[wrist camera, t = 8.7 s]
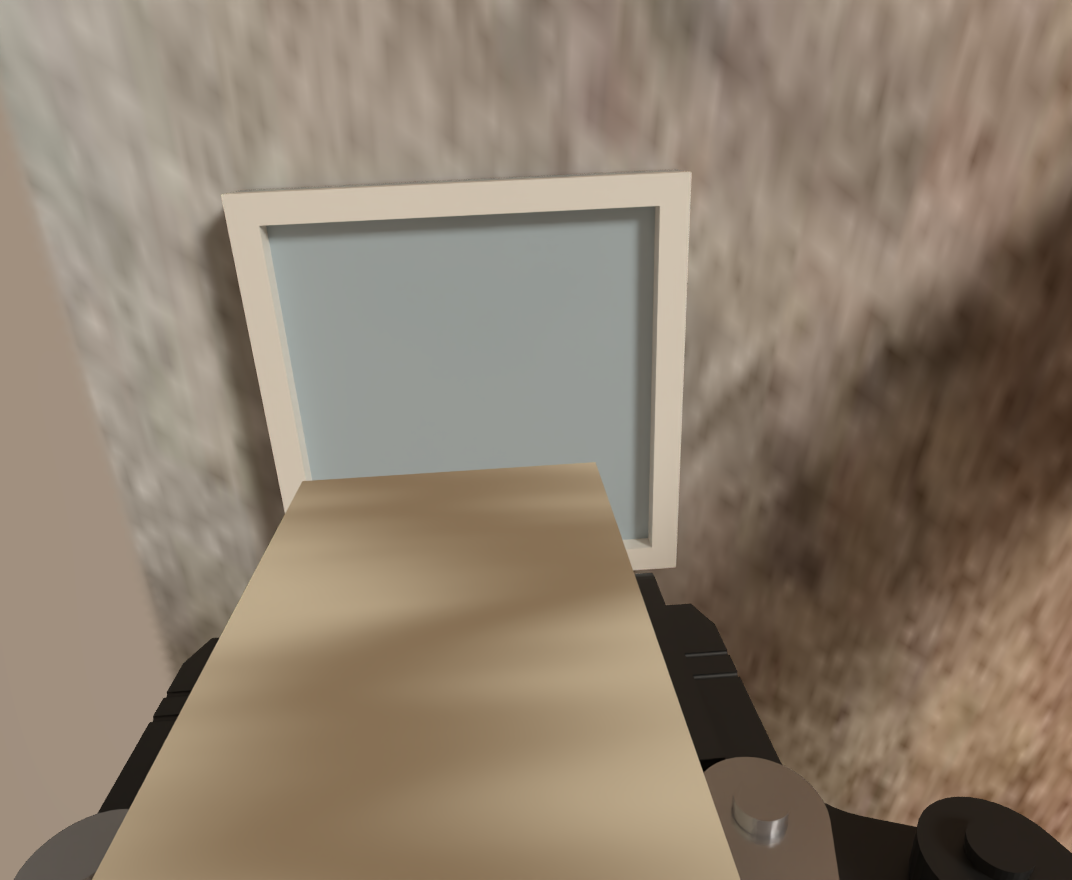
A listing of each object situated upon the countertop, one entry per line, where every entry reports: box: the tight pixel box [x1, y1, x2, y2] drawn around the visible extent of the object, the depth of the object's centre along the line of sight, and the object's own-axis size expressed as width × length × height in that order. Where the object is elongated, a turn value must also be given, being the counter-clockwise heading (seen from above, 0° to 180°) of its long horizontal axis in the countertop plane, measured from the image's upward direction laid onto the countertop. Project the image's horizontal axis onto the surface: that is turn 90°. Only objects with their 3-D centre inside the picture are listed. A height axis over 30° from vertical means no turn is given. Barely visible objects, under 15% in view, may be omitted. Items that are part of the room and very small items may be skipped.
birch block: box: [92, 462, 740, 880], centre depth 9 cm, size 4×4×7 cm
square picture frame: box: [221, 170, 691, 570], centre depth 21 cm, size 12×12×2 cm
